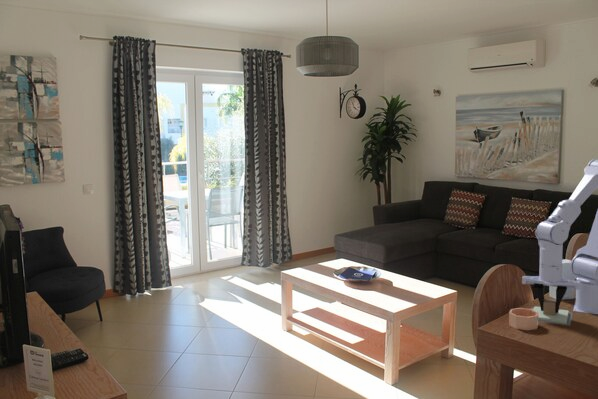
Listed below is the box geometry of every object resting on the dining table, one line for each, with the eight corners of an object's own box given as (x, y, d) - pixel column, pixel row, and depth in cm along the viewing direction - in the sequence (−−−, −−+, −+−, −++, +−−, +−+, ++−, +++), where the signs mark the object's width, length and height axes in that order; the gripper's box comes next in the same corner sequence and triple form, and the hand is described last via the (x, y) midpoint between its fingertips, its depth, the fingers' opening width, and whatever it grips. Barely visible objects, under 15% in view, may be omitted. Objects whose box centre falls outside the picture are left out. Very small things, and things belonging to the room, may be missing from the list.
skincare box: (565, 295, 166) (566, 258, 165) (575, 300, 162) (576, 261, 160) (548, 297, 165) (548, 260, 164) (557, 301, 161) (558, 263, 159)
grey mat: (531, 309, 156) (531, 307, 155) (572, 314, 150) (572, 312, 150) (525, 321, 146) (525, 319, 146) (570, 327, 141) (570, 325, 140)
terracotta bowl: (511, 320, 147) (512, 306, 147) (539, 324, 144) (539, 310, 143) (507, 329, 141) (507, 314, 141) (535, 333, 138) (536, 318, 137)
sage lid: (534, 308, 154) (534, 294, 154) (568, 313, 150) (569, 298, 149) (530, 318, 146) (530, 303, 146) (566, 323, 142) (566, 308, 141)
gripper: (520, 265, 146) (520, 311, 148) (579, 270, 139) (577, 319, 141) (524, 259, 152) (523, 304, 154) (580, 263, 145) (579, 311, 147)
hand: (549, 310), depth 148 cm, fingers closed on sage lid, 3 cm apart
